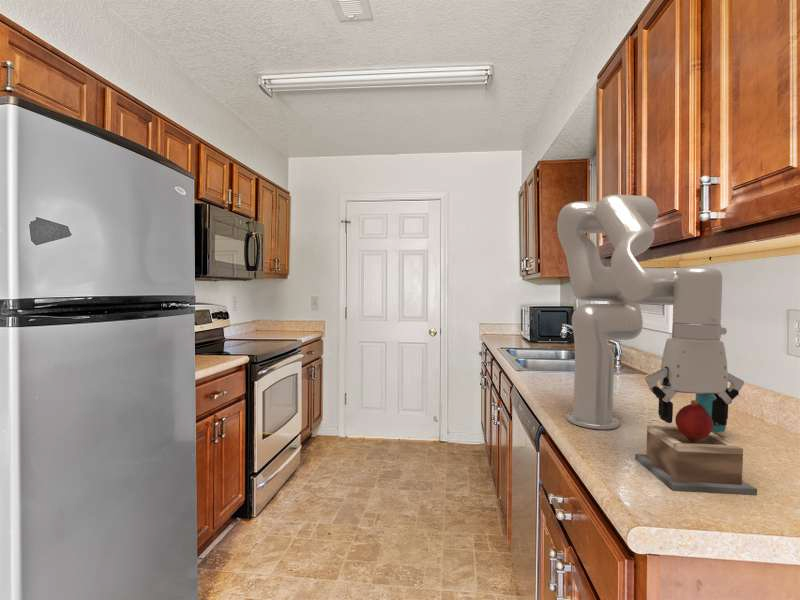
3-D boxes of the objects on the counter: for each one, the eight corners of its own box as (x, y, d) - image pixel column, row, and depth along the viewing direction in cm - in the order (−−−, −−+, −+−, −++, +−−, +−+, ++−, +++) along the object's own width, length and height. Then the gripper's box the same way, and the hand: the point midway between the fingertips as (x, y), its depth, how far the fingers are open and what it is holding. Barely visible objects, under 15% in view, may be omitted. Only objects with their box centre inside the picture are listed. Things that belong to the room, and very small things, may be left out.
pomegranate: (696, 435, 84) (700, 396, 83) (718, 448, 78) (723, 406, 77) (667, 434, 84) (671, 395, 83) (687, 446, 78) (691, 405, 77)
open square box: (635, 458, 88) (636, 423, 88) (705, 461, 87) (706, 426, 87) (672, 490, 74) (674, 448, 74) (756, 494, 73) (758, 452, 73)
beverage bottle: (702, 428, 109) (705, 351, 108) (732, 437, 103) (735, 355, 102) (687, 432, 106) (690, 353, 105) (717, 440, 100) (720, 357, 99)
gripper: (729, 332, 83) (726, 417, 84) (638, 329, 84) (635, 414, 85) (759, 336, 76) (755, 430, 76) (658, 333, 77) (655, 426, 77)
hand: (692, 422), depth 81 cm, fingers open, 9 cm apart
